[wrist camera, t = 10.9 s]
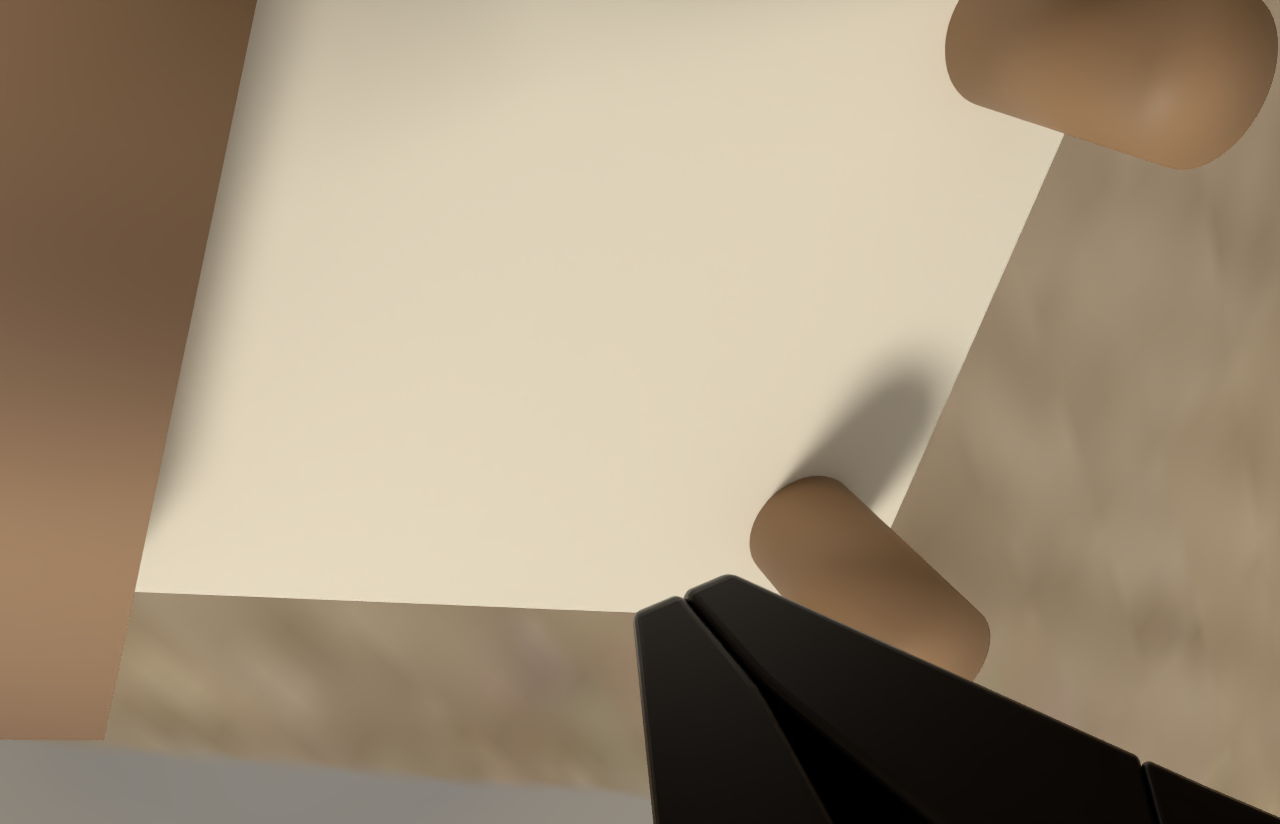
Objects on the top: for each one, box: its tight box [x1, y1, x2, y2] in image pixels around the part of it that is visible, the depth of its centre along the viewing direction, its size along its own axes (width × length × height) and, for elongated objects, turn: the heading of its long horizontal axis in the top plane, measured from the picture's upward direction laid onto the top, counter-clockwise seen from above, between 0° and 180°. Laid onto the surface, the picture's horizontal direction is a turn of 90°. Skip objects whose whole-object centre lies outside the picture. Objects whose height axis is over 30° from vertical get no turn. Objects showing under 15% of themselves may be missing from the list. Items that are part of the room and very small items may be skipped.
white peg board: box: [135, 0, 1278, 681], centre depth 15 cm, size 17×13×6 cm
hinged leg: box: [0, 0, 257, 740], centre depth 11 cm, size 12×2×4 cm, turn 159°
